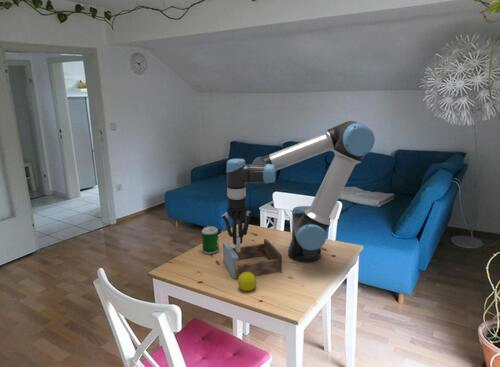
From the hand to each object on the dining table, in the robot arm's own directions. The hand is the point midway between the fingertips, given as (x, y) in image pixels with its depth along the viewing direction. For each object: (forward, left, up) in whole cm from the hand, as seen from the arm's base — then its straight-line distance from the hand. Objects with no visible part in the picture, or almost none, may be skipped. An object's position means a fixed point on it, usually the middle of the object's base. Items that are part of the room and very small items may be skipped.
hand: (237, 250), depth 155 cm
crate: (-7, 0, -9) cm, 11 cm away
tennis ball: (+1, +17, -9) cm, 19 cm away
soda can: (+7, -21, -9) cm, 24 cm away
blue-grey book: (+3, 0, -8) cm, 8 cm away
